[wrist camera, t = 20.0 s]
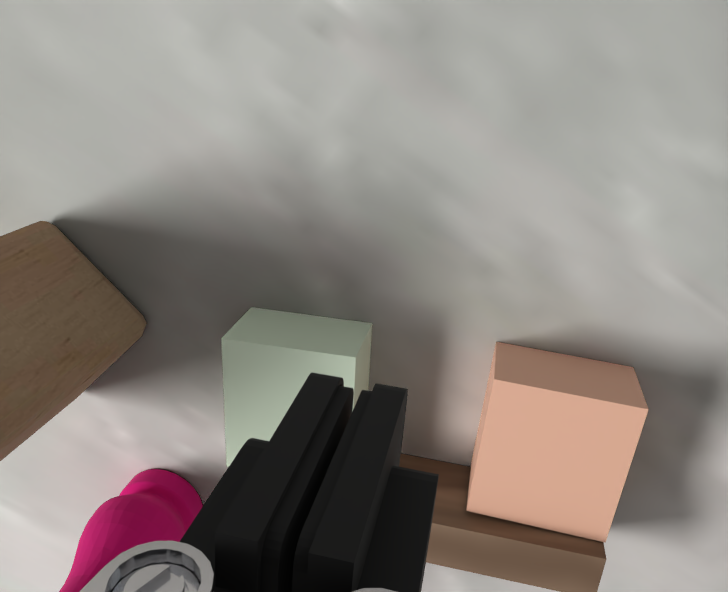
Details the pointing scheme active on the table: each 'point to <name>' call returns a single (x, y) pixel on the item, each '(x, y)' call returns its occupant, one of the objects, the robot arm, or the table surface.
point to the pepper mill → (134, 522)
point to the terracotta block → (555, 440)
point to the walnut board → (503, 540)
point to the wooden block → (53, 328)
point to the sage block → (284, 367)
